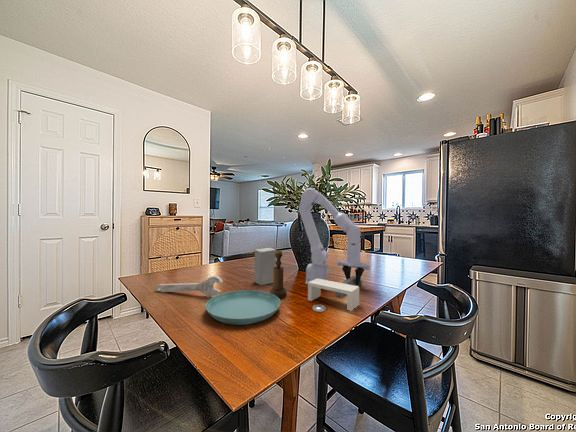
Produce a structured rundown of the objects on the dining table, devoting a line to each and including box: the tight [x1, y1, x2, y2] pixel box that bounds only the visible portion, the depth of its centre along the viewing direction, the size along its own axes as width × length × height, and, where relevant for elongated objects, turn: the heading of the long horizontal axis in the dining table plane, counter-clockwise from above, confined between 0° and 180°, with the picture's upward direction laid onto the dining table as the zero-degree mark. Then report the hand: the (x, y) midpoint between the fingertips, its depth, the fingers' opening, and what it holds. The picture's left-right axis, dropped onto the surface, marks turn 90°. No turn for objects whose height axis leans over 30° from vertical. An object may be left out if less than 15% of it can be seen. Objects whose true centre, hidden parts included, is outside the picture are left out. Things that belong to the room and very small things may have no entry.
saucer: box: [205, 289, 281, 326], centre depth 79 cm, size 24×24×3 cm
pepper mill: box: [269, 249, 288, 300], centre depth 94 cm, size 7×6×18 cm
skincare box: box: [254, 247, 277, 286], centre depth 111 cm, size 8×7×16 cm
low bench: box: [307, 278, 360, 312], centre depth 88 cm, size 17×7×7 cm, turn 53°
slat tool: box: [335, 274, 363, 298], centre depth 102 cm, size 5×20×4 cm, turn 143°
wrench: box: [155, 275, 224, 298], centre depth 95 cm, size 8×2×30 cm
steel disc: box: [312, 304, 327, 313], centre depth 81 cm, size 4×4×1 cm
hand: (353, 283), depth 106 cm, fingers open, 3 cm apart
